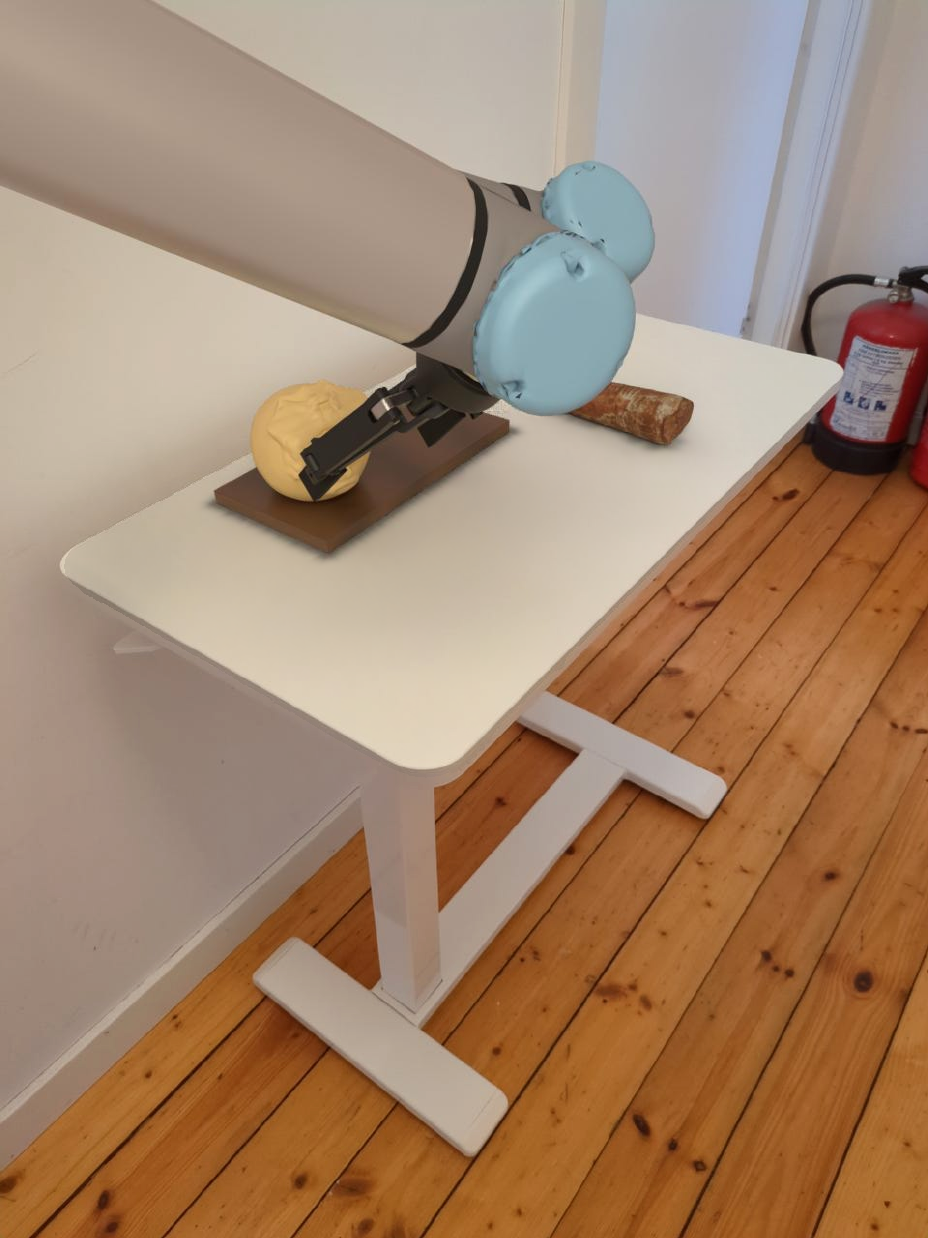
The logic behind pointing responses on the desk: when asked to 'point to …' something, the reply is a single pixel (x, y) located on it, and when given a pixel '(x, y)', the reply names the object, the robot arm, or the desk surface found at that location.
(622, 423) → the bread
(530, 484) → the desk surface
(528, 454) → the desk surface
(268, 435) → the sculpture
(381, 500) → the cutting board
